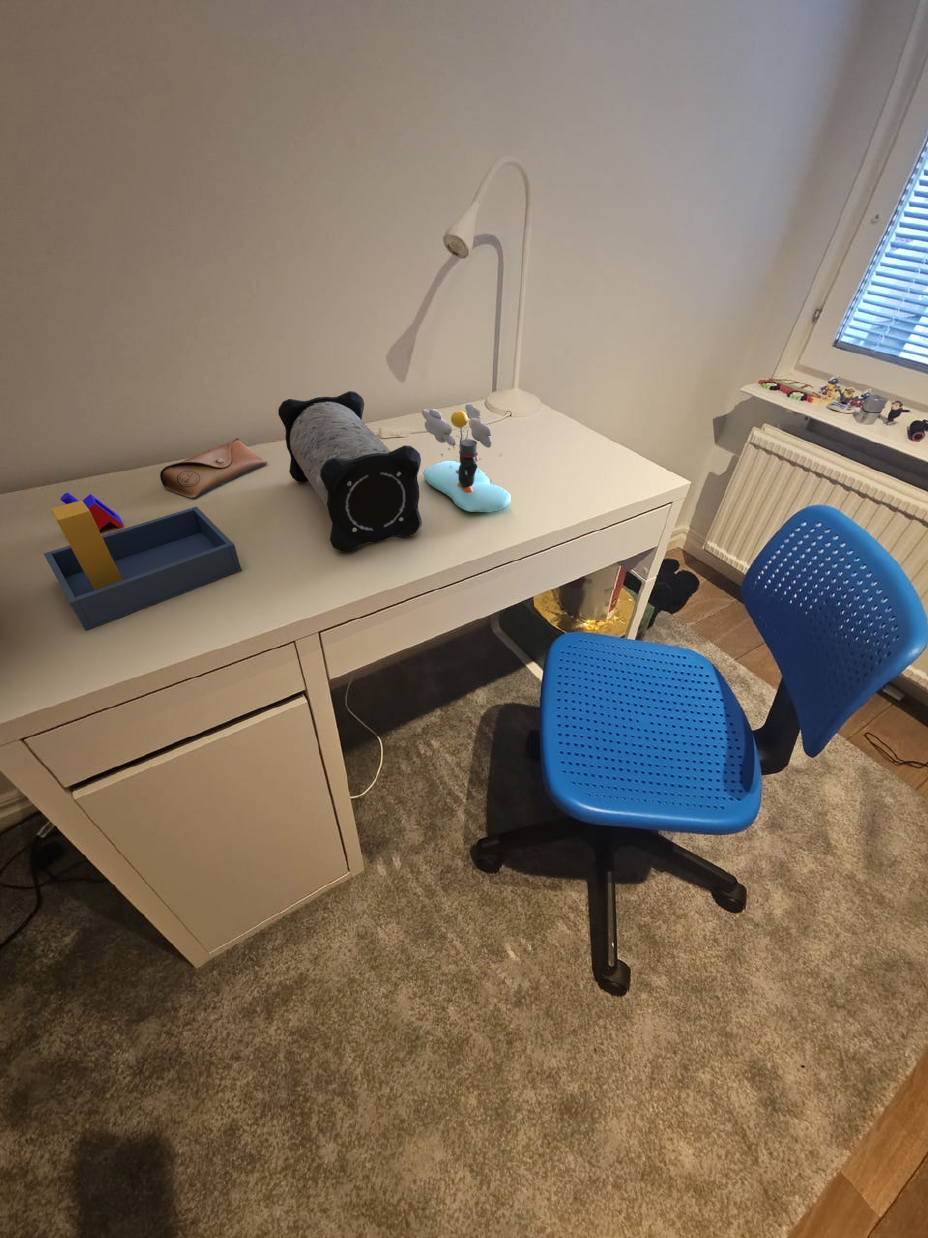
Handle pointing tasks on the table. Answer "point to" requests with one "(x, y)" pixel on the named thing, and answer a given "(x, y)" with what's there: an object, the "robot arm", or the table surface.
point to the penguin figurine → (464, 463)
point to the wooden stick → (87, 544)
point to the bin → (148, 566)
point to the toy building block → (96, 510)
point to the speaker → (352, 470)
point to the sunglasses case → (210, 469)
